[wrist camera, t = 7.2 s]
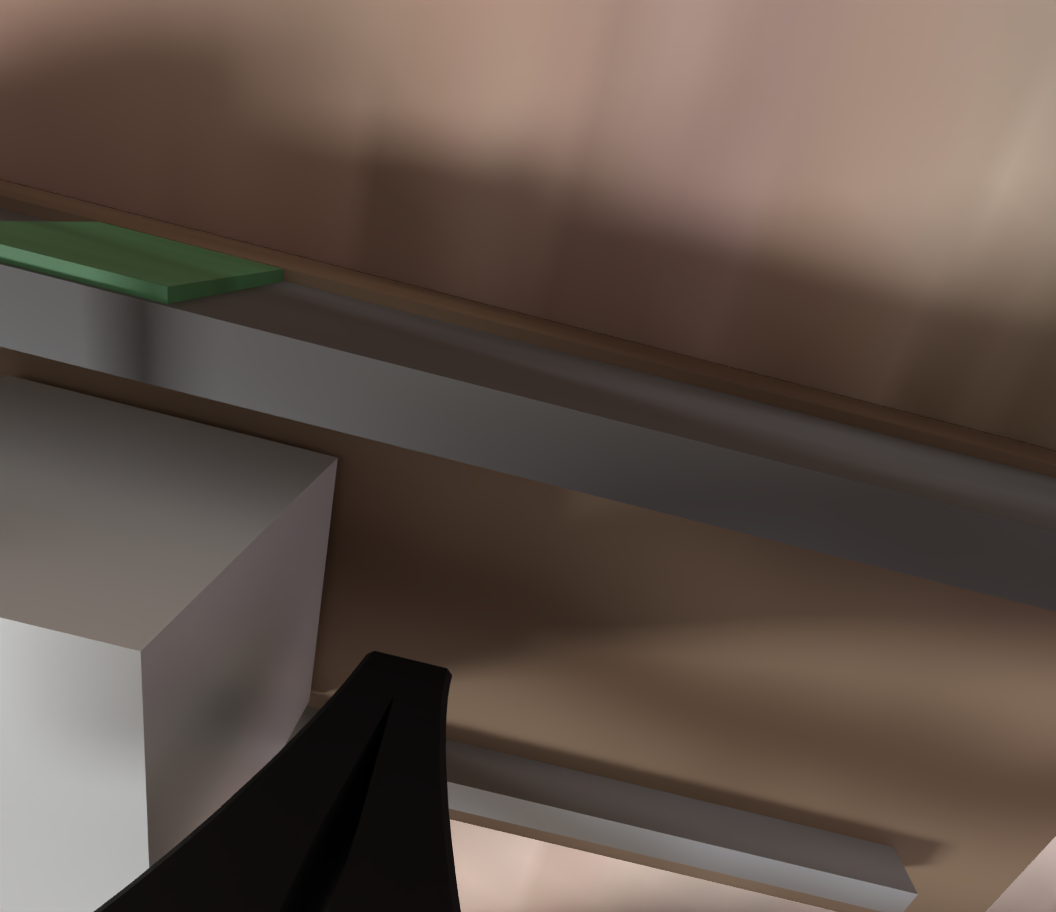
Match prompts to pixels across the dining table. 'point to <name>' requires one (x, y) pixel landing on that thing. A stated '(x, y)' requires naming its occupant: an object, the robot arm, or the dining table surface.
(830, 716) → the gauge base
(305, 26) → the dining table surface
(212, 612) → the gauge slider
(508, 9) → the dining table surface
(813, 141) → the dining table surface
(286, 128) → the dining table surface
